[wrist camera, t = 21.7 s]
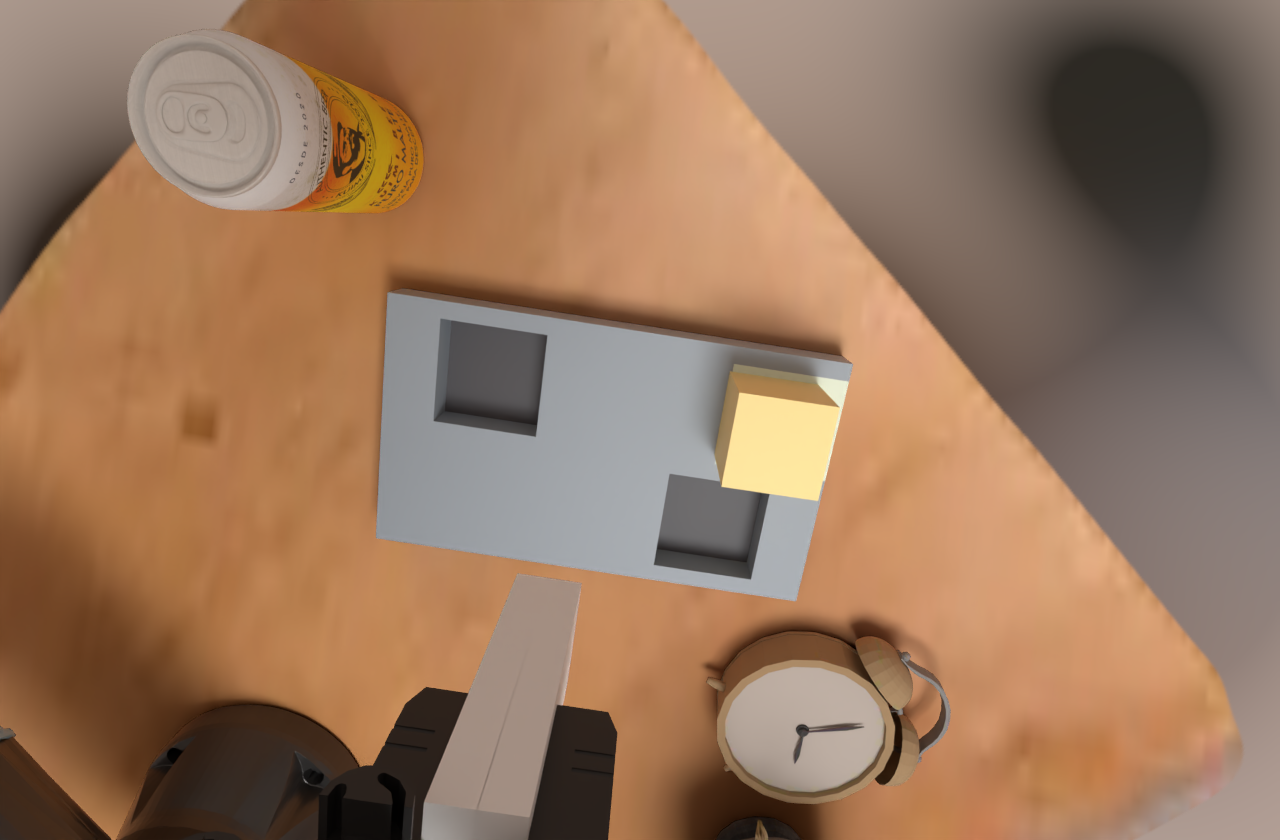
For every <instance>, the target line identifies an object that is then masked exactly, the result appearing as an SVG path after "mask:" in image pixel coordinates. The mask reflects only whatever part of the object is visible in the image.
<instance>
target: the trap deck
mask: <svg viewBox="0 0 1280 840" xmlns="http://www.w3.org/2000/svg"><path fill="white" fill-rule="evenodd" d="M852 367H853V364H852V363H851V362H849V361H848V360H847V359H845V358H844V357H843V356H839V355H832V354H826V353H819V352H813V351H806V350H800V349H793V348H787V347H780V346H774V345H767V344H761V343H754V342H748V341H742V340H735V339H729V338H722V337H716V336H709V335H703V334H696V333H690V332H683V331H677V330H670V329H664V328H658V327H651V326H645V325H638V324H632V323H625V322H619V321H612V320H606V319H599V318H593V317H586V316H580V315H574V314H567V313H561V312H554V311H548V310H541V309H535V308H528V307H522V306H515V305H509V304H502V303H496V302H489V301H483V300H477V299H470V298H464V297H457V296H451V295H444V294H438V293H431V292H425V291H418V290H412V289H405V288H402V289H398V290H394V291H390V292H388V295H387V316H386V337H385V358H384V379H383V400H382V421H381V442H380V463H379V484H378V505H377V526H376V538H378V539H385V540H392V541H398V542H405V543H412V544H418V545H425V546H432V547H438V548H445V549H451V550H458V551H465V552H471V553H478V554H485V555H491V556H498V557H505V558H511V559H518V560H525V561H531V562H538V563H545V564H551V565H558V566H565V567H571V568H578V569H585V570H591V571H598V572H604V573H611V574H618V575H624V576H631V577H638V578H644V579H651V580H658V581H664V582H671V583H678V584H684V585H691V586H698V587H704V588H711V589H718V590H724V591H731V592H738V593H744V594H751V595H757V596H764V597H771V598H777V599H784V600H791V601H796V599H797V595H798V591H799V587H800V582H801V578H802V574H803V570H804V566H805V562H806V558H807V553H808V549H809V545H810V541H811V537H812V533H813V529H814V524H815V520H816V516H817V512H818V508H819V504H820V499H821V495H822V491H823V487H824V483H825V479H826V475H827V470H828V466H829V462H830V458H831V454H832V450H833V445H834V441H835V437H836V433H837V429H838V425H839V421H840V416H841V412H842V408H843V404H844V400H845V396H846V392H847V387H848V383H849V379H850V375H851V371H852ZM730 371H732V372H738V373H745V374H752V375H758V376H765V377H772V378H778V379H785V380H792V381H798V382H805V383H812V384H818V385H819V386H820V387H821V388H822V389H823V390H824V391H825V392H826V393H827V394H828V395H829V396H830V398H831V399H832V400H833V401H834V402H835V403H836V404H837V405H838V406H839V407H840V410H839V414H838V419H837V423H836V427H835V431H834V436H833V440H832V444H831V448H830V453H829V457H828V461H827V465H826V470H825V474H824V478H823V482H822V487H821V491H820V495H819V499H818V501H814V500H808V499H801V498H794V497H787V496H781V495H774V494H767V493H760V492H754V491H747V490H740V489H733V488H727V487H721V483H720V478H719V474H718V469H717V465H716V460H715V456H714V454H715V448H716V443H717V438H718V432H719V427H720V422H721V416H722V411H723V406H724V400H725V395H726V389H727V384H728V379H729V373H730Z"/></svg>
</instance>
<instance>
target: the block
mask: <svg viewBox="0 0 1280 840" xmlns="http://www.w3.org/2000/svg"><path fill="white" fill-rule="evenodd" d="M839 410H840V407H839V406H838V405H837V404H836V403H835V402H834V401H833V400H832V399H831V398H830V396H829V395H828V394H827V393H826V392H825V391H824V390H823V389H822V388H821V387H820V386H819V385H818V384H812V383H805V382H798V381H792V380H785V379H778V378H772V377H765V376H758V375H752V374H745V373H738V372H732V371H730V373H729V379H728V384H727V389H726V395H725V400H724V406H723V411H722V416H721V422H720V427H719V432H718V438H717V443H716V448H715V454H714V456H715V460H716V465H717V469H718V474H719V478H720V483H721V487H727V488H733V489H740V490H747V491H754V492H760V493H767V494H774V495H781V496H787V497H794V498H801V499H808V500H814V501H818V499H819V495H820V491H821V487H822V482H823V478H824V474H825V470H826V465H827V461H828V457H829V453H830V448H831V444H832V440H833V436H834V431H835V427H836V423H837V419H838V414H839Z"/></svg>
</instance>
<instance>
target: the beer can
mask: <svg viewBox="0 0 1280 840" xmlns="http://www.w3.org/2000/svg"><path fill="white" fill-rule="evenodd" d="M127 110H128V118H129V122H130V126H131V130H132V133H133V135H134V138H135V140H136V142H137V144H138V147H139V148H140V150H141V152H142V153H143V155H144V156H145V158H146V159H147V161H148V162H149V163H150V164H151V166H152V167H153V168H154V169H155V170H156V171H157V172H158V173H159V174H160V175H161V176H162V177H164V178H165V179H166V180H167V181H169V182H170V183H172V184H173V185H175V186H176V187H178V188H180V189H181V190H182V191H183V192H185V193H186V194H188V195H189V196H191V197H193V198H194V199H196V200H198V201H200V202H202V203H205V204H207V205H210V206H213V207H217V208H221V209H229V210H260V211H301V212H343V213H383V212H387V211H390V210H393V209H395V208H397V207H399V206H401V205H402V204H403V203H405V202H406V201H407V200H408V199H409V198H410V197H411V196H412V194H413V193H414V192H415V190H416V188H417V187H418V184H419V182H420V180H421V176H422V172H423V166H424V154H423V147H422V143H421V139H420V137H419V134H418V132H417V130H416V128H415V126H414V124H413V123H412V121H411V120H410V119H409V117H408V116H407V115H406V114H405V113H404V112H403V111H402V110H401V109H400V108H399V107H397V106H396V105H395V104H393V103H392V102H390V101H388V100H386V99H384V98H382V97H380V96H377V95H375V94H373V93H370V92H368V91H366V90H364V89H361V88H359V87H357V86H354V85H352V84H350V83H348V82H345V81H343V80H341V79H338V78H336V77H334V76H332V75H329V74H327V73H325V72H322V71H320V70H318V69H316V68H313V67H311V66H309V65H306V64H304V63H302V62H300V61H297V60H295V59H293V58H290V57H288V56H286V55H284V54H281V53H279V52H277V51H274V50H272V49H270V48H268V47H265V46H263V45H261V44H258V43H256V42H254V41H252V40H249V39H247V38H245V37H242V36H240V35H237V34H234V33H231V32H227V31H223V30H216V29H201V30H195V31H190V32H187V33H184V34H180V35H175V36H171V37H168V38H166V39H163V40H161V41H159V42H158V43H156V44H155V45H153V46H152V47H151V48H149V49H148V50H147V51H146V52H145V53H144V55H143V56H142V57H141V58H140V60H139V61H138V63H137V64H136V66H135V68H134V70H133V72H132V76H131V79H130V82H129V87H128V95H127Z"/></svg>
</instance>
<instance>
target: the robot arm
mask: <svg viewBox="0 0 1280 840" xmlns="http://www.w3.org/2000/svg"><path fill="white" fill-rule="evenodd" d="M581 584H582V583H578V582H572V581H565V580H558V579H552V578H545V577H538V576H532V575H525V574H519V573H518V574H517V576H516V579H515V581H514V583H513V586H512V588H511V591H510V593H509V596H508V598H507V600H506V603H505V605H504V608H503V610H502V613H501V615H500V618H499V620H498V622H497V625H496V627H495V630H494V632H493V635H492V637H491V640H490V642H489V644H488V647H487V649H486V652H485V654H484V657H483V659H482V662H481V664H480V666H479V669H478V671H477V674H476V676H475V679H474V681H473V684H472V686H471V688H470V691H469V693H463V692H456V691H449V690H442V689H436V688H429V687H426V688H424V689H423V690H422V691H421V692H419V693H418V694H417V695H416V696H415V697H413V698H412V699H411V700H410V701H408V702H407V703H406V704H405V706H404V708H403V710H402V712H401V714H400V715H399V717H398V719H397V721H396V723H395V726H394V729H392V730H391V732H390V734H389V736H388V738H387V740H386V742H385V746H383V747H382V749H381V751H380V753H379V755H378V757H377V759H376V761H375V763H374V764H373V766H363V767H358V765H357V763H356V762H355V760H354V759H353V757H352V756H351V755H350V753H349V752H348V751H347V750H346V748H345V747H344V746H343V745H342V744H341V743H340V742H339V741H338V740H337V739H336V738H335V737H333V736H332V735H331V734H330V733H328V732H327V731H326V730H324V729H323V728H321V727H320V726H318V725H317V724H315V723H313V722H312V721H310V720H308V719H306V718H304V717H301V716H299V715H297V714H294V713H292V712H289V711H285V710H282V709H278V708H274V707H269V706H261V705H233V706H226V707H222V708H218V709H214V710H211V711H209V712H206V713H204V714H202V715H200V716H198V717H196V718H195V719H193V720H192V721H190V722H189V723H188V724H186V725H185V726H184V727H183V728H182V729H181V730H180V731H179V732H178V733H177V734H176V735H175V736H174V737H173V738H172V739H171V741H170V742H169V743H168V744H167V745H166V746H165V747H164V748H163V749H162V750H161V751H160V753H159V754H158V755H157V756H156V758H155V759H154V761H153V762H152V764H151V766H150V768H149V769H148V771H147V774H146V776H145V778H144V780H143V782H142V784H141V787H140V789H139V791H138V793H137V795H136V797H135V800H134V802H133V804H132V806H131V808H130V810H129V813H128V815H127V817H126V819H125V821H124V823H123V826H122V828H121V830H120V832H119V834H118V836H117V839H116V840H608V833H609V822H610V810H611V799H612V787H613V775H614V764H615V753H616V741H617V731H616V729H615V727H614V724H613V722H612V720H611V717H610V715H609V713H608V712H603V711H596V710H590V709H583V708H576V707H569V706H563V702H564V697H565V692H566V687H567V682H568V675H569V668H570V661H571V654H572V647H573V640H574V633H575V626H576V619H577V612H578V605H579V598H580V591H581ZM15 736H16V734H15V733H14V732H13V731H12V730H11V729H10V728H3V727H1V726H0V840H111V838H110V837H109V836H108V835H107V834H106V833H105V832H104V831H103V830H102V829H101V828H100V827H99V826H98V825H97V824H96V823H95V822H94V821H93V820H92V819H91V818H90V817H89V816H88V815H87V814H86V813H85V812H84V811H83V810H82V809H81V808H80V807H79V806H78V805H77V804H76V803H75V802H74V801H73V800H72V798H71V797H70V796H69V795H68V794H67V793H66V792H65V791H64V790H63V789H62V788H61V787H60V786H59V785H58V784H57V783H56V782H55V781H54V780H53V779H52V778H51V777H50V776H49V775H48V774H47V773H46V772H45V771H44V770H43V769H42V768H41V767H40V765H39V764H38V763H37V762H36V761H35V760H34V759H33V758H32V757H31V756H30V755H29V754H28V753H27V752H26V750H25V749H24V748H23V747H22V746H21V745H20V744H19V743H18V742H17V741H16V740H15V739H14V737H15Z"/></svg>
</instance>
